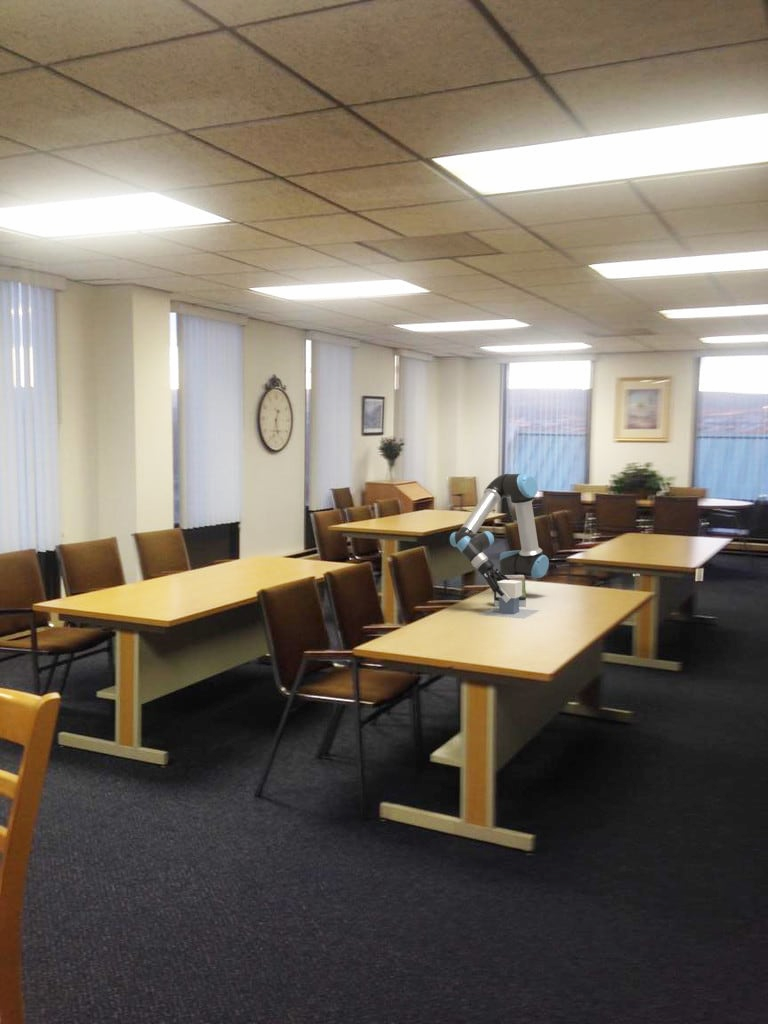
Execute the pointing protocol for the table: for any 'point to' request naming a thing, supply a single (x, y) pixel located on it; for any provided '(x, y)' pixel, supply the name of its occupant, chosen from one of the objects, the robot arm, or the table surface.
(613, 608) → the table surface
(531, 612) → the mat
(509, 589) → the cap
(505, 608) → the carton
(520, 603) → the tea box
